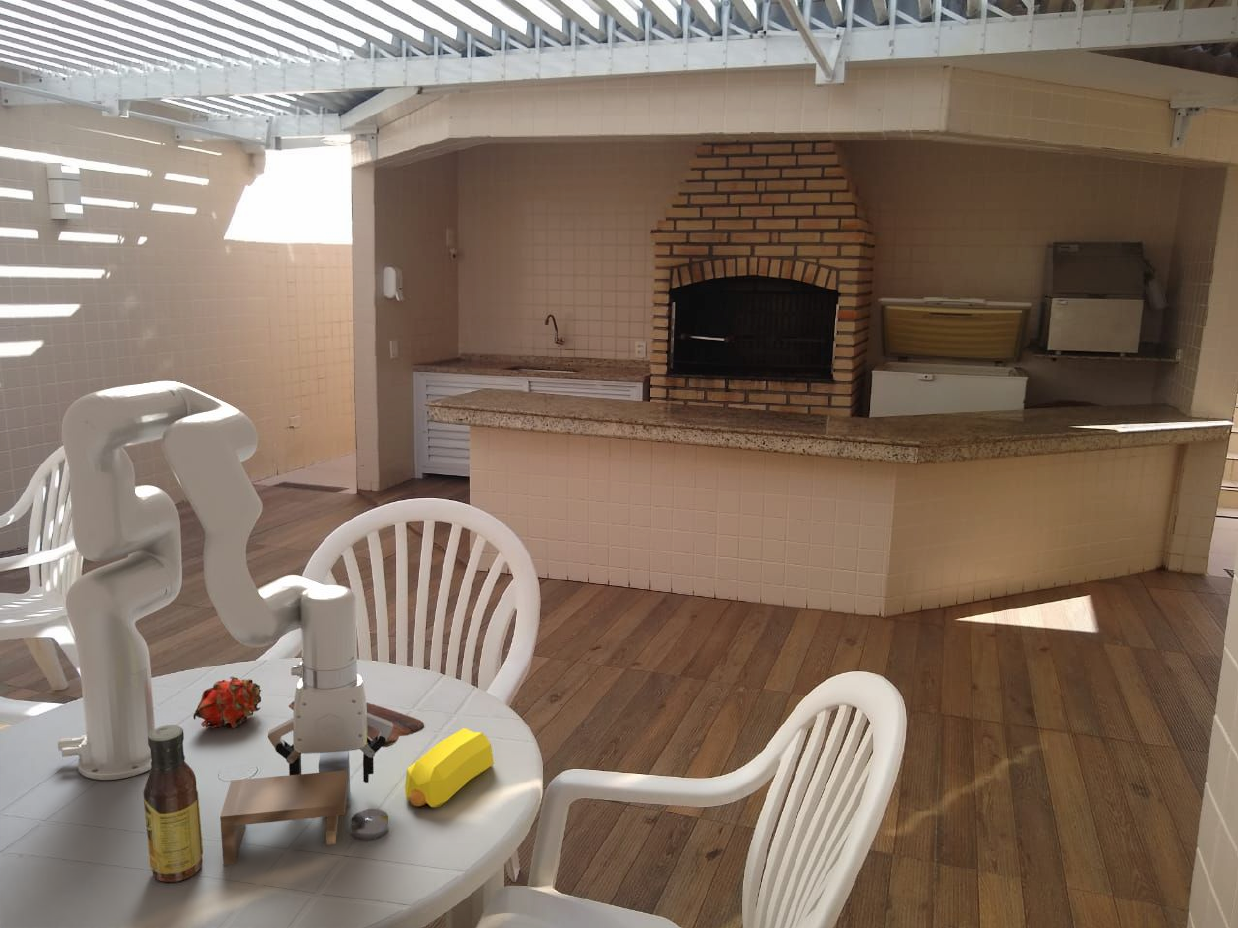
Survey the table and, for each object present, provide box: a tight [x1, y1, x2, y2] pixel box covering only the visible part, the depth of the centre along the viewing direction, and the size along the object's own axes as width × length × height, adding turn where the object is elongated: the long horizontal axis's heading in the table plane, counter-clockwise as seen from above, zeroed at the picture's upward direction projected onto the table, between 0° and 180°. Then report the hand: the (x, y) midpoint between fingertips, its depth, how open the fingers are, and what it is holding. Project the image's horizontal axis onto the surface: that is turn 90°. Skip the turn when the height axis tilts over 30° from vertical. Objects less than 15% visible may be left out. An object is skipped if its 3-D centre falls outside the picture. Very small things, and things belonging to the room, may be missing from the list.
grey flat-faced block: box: [318, 751, 351, 846], centre depth 137 cm, size 4×13×7 cm, turn 13°
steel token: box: [350, 808, 389, 842], centre depth 135 cm, size 5×5×2 cm
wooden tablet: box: [288, 700, 425, 747], centre depth 168 cm, size 26×2×10 cm
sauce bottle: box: [142, 724, 204, 883], centre depth 123 cm, size 6×6×20 cm
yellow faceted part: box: [404, 727, 495, 808], centre depth 147 cm, size 18×7×8 cm
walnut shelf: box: [219, 770, 348, 866], centre depth 132 cm, size 16×9×7 cm, turn 103°
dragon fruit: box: [193, 676, 262, 729], centre depth 164 cm, size 8×8×12 cm
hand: (332, 780), depth 142 cm, fingers open, 9 cm apart
